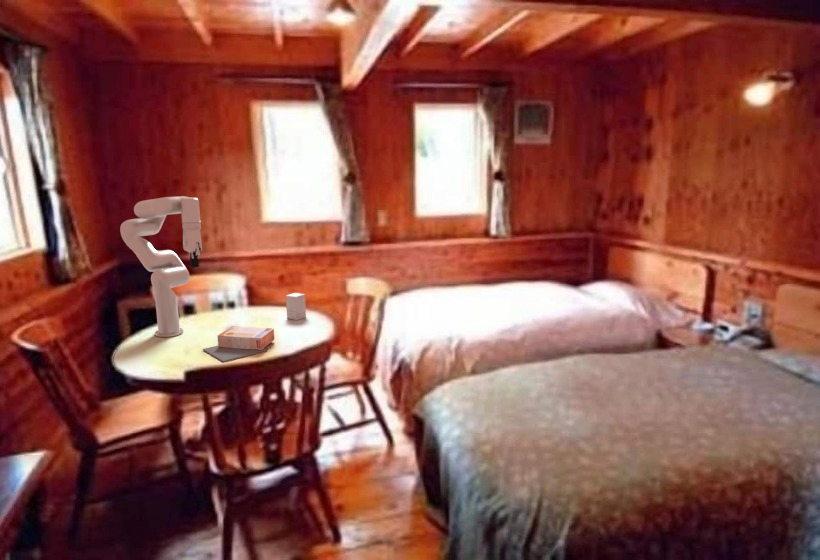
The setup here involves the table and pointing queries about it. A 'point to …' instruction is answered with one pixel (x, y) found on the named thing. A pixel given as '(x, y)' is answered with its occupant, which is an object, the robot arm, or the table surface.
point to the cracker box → (246, 338)
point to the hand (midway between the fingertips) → (194, 266)
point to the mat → (231, 353)
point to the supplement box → (296, 306)
